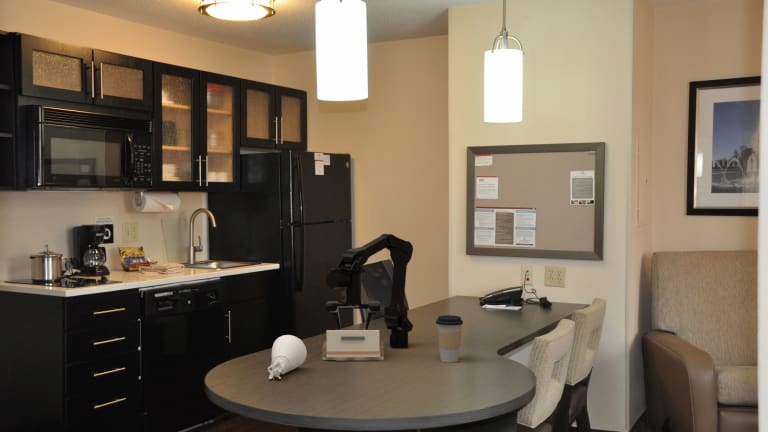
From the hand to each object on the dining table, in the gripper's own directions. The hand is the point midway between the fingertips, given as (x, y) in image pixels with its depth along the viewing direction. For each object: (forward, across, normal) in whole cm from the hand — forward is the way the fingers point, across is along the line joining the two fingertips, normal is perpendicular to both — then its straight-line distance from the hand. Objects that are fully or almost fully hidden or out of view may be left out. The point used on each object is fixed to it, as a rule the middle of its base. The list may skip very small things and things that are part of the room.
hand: (353, 330), depth 252 cm
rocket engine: (+10, +23, +23) cm, 34 cm away
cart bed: (+9, 0, -1) cm, 9 cm away
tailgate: (+8, 0, +6) cm, 10 cm away
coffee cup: (+10, -33, +6) cm, 35 cm away
